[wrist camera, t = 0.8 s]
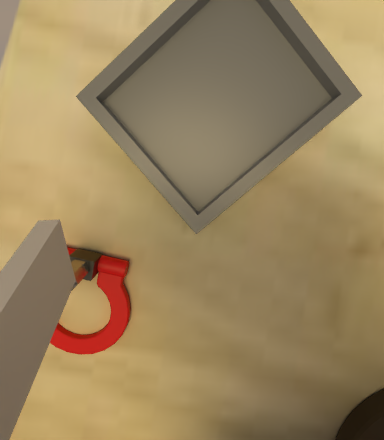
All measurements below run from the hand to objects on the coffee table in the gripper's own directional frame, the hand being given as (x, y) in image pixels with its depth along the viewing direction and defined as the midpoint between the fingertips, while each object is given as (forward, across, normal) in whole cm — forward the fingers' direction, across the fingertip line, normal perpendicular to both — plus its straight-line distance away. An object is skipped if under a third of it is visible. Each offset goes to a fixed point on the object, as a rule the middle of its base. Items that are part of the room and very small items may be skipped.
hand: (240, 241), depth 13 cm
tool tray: (+17, -1, -2) cm, 17 cm away
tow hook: (+12, +11, +13) cm, 21 cm away
